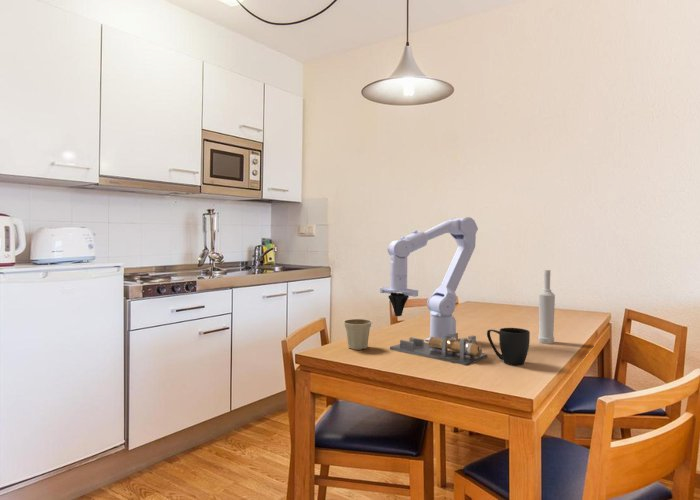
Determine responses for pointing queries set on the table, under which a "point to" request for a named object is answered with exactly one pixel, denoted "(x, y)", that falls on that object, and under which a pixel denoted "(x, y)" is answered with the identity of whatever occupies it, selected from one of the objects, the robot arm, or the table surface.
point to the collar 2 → (463, 345)
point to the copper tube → (456, 346)
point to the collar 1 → (445, 341)
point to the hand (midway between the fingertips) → (398, 315)
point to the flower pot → (357, 333)
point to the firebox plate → (432, 352)
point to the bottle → (546, 312)
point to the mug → (512, 345)
